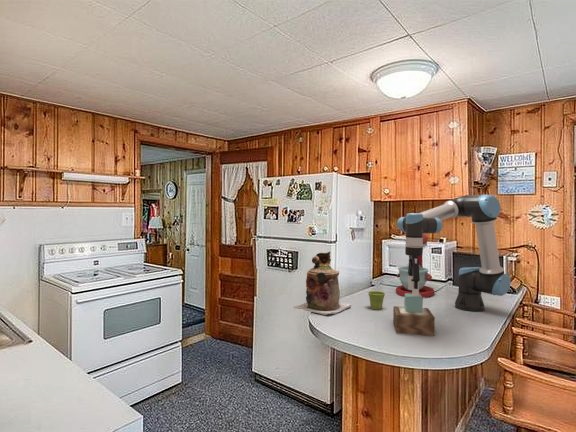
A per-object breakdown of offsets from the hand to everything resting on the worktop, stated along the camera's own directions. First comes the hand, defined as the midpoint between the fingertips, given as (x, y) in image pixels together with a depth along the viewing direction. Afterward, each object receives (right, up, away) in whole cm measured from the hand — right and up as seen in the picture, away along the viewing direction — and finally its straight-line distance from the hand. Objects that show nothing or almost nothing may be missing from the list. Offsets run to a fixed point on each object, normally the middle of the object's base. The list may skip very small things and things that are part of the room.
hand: (413, 292), depth 171 cm
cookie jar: (-39, -16, +35) cm, 54 cm away
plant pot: (-8, -17, +36) cm, 41 cm away
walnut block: (0, -17, 0) cm, 17 cm away
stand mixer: (+27, -17, +76) cm, 83 cm away
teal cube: (0, -8, 0) cm, 8 cm away
